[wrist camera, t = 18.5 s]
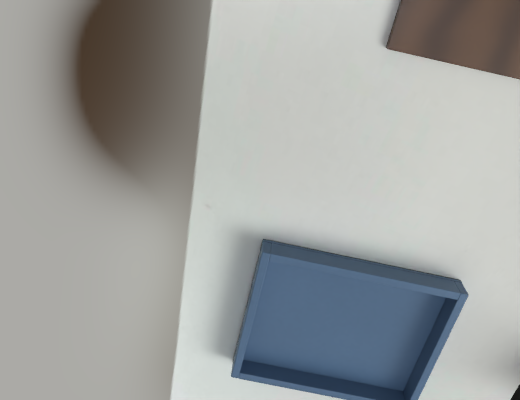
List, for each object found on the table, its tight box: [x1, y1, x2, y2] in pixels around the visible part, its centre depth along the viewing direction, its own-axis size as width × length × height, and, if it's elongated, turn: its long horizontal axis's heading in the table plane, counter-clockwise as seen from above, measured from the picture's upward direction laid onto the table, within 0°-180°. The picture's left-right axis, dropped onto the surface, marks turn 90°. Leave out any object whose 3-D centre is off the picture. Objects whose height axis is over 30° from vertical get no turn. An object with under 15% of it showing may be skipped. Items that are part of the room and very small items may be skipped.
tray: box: [231, 239, 468, 400], centre depth 49 cm, size 20×16×2 cm
